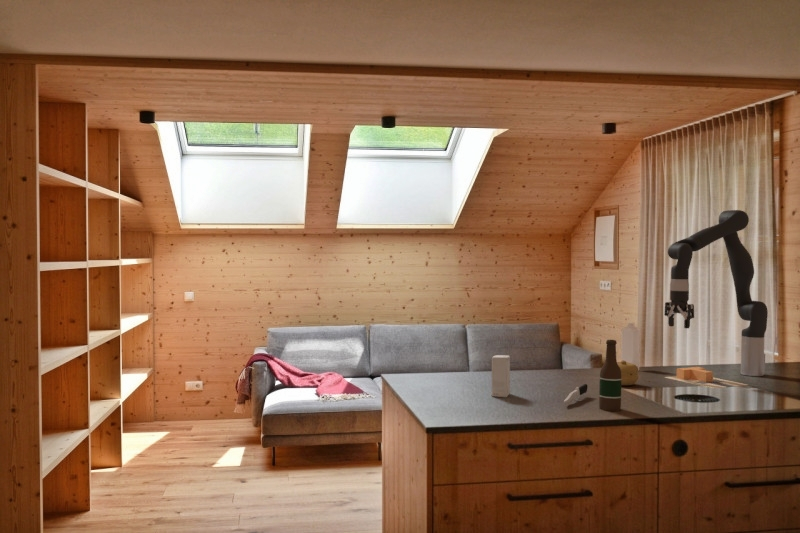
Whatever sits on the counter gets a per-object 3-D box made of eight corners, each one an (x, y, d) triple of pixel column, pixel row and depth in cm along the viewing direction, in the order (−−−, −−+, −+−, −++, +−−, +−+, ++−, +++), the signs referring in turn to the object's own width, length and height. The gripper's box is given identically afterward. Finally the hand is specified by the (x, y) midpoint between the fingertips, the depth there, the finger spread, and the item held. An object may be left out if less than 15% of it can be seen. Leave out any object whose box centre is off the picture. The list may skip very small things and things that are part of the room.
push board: (698, 376, 318) (698, 374, 318) (748, 387, 295) (749, 384, 295) (664, 379, 310) (664, 377, 310) (713, 390, 286) (713, 388, 286)
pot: (626, 381, 304) (627, 357, 304) (644, 386, 293) (644, 362, 293) (602, 382, 301) (603, 358, 301) (619, 388, 290) (619, 363, 289)
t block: (697, 376, 314) (697, 366, 314) (719, 380, 303) (720, 371, 303) (676, 377, 309) (676, 368, 309) (698, 382, 298) (698, 373, 298)
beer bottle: (595, 406, 255) (596, 338, 254) (616, 406, 255) (617, 338, 255) (603, 411, 247) (604, 341, 246) (625, 411, 248) (626, 341, 247)
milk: (639, 371, 332) (640, 323, 331) (632, 372, 328) (633, 323, 327) (627, 369, 336) (628, 321, 336) (620, 370, 332) (621, 322, 331)
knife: (565, 408, 251) (566, 394, 251) (561, 407, 252) (561, 393, 252) (588, 396, 272) (588, 383, 272) (583, 395, 273) (583, 382, 273)
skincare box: (506, 397, 268) (507, 357, 267) (490, 396, 270) (491, 356, 269) (510, 393, 276) (511, 354, 275) (494, 392, 278) (495, 353, 277)
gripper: (699, 290, 306) (698, 328, 307) (673, 288, 319) (672, 325, 320) (686, 290, 303) (685, 329, 303) (660, 288, 316) (659, 326, 316)
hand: (678, 327), depth 312 cm, fingers open, 8 cm apart
